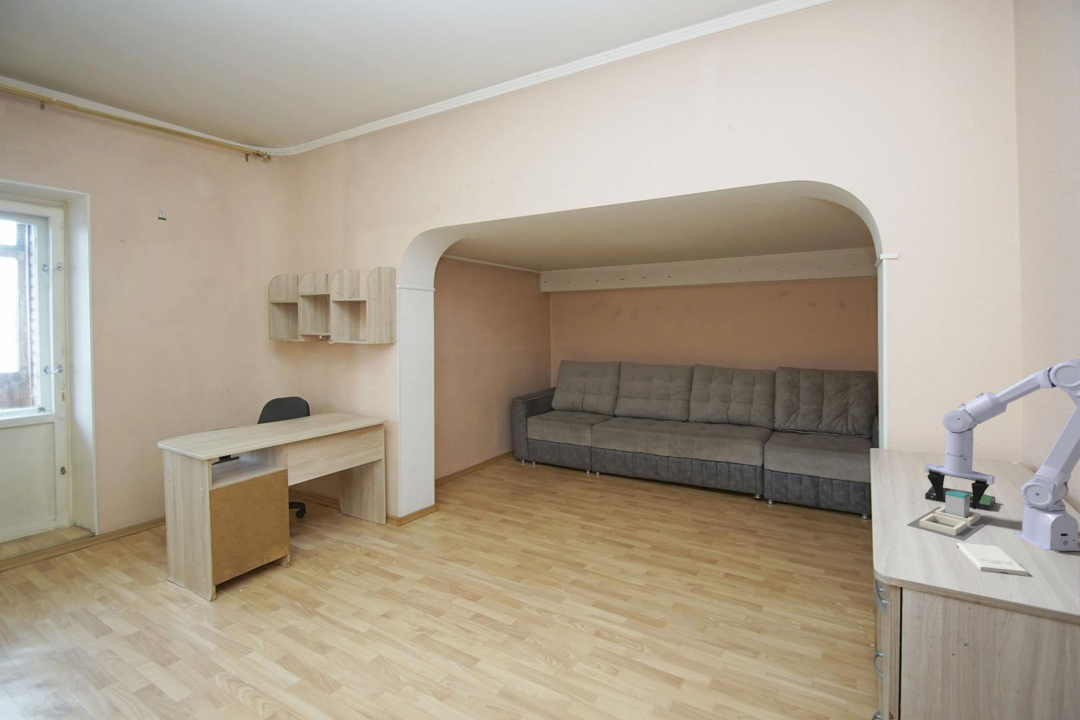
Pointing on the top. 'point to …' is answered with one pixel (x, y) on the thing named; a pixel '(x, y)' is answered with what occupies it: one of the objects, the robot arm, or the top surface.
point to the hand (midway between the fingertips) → (957, 504)
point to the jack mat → (962, 534)
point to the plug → (957, 503)
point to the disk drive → (985, 502)
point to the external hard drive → (991, 559)
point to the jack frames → (948, 521)
